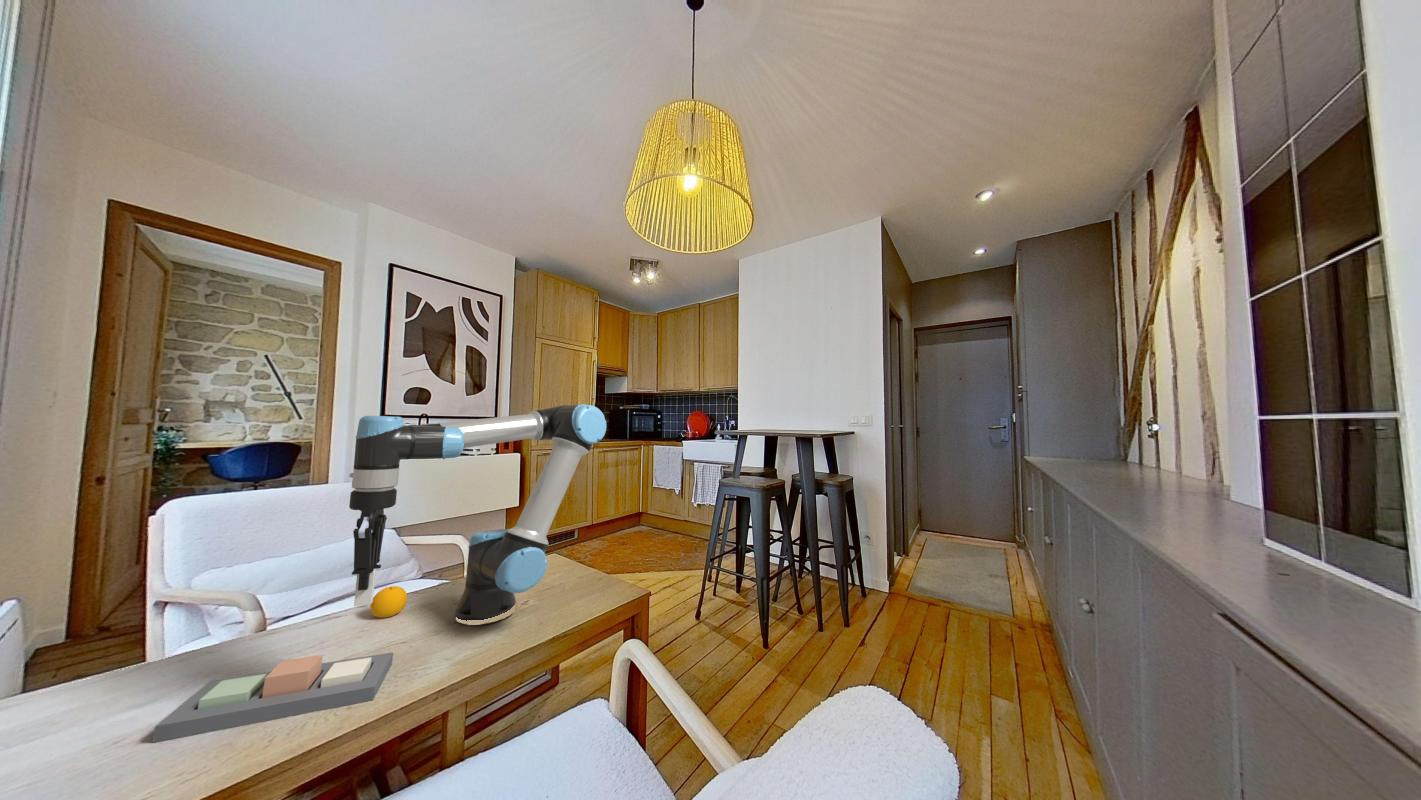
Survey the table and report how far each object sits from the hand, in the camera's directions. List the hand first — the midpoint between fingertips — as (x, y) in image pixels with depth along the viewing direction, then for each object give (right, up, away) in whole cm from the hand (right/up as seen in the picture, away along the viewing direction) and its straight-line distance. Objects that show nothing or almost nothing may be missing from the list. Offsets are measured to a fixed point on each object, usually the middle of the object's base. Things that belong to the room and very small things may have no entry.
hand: (363, 603), depth 82 cm
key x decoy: (-8, -12, -6) cm, 16 cm away
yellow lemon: (-18, -18, +28) cm, 37 cm away
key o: (-15, -14, -10) cm, 23 cm away
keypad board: (-8, -14, -7) cm, 18 cm away
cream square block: (-1, -15, -3) cm, 15 cm away
